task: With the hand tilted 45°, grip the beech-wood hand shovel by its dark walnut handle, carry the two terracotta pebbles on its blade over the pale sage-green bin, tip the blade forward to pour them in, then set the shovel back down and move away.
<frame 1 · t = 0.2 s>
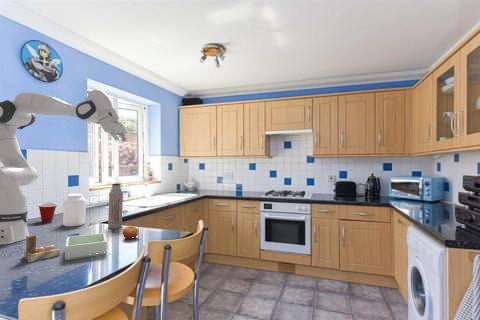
hand: (121, 140, 140), 54 cm above the counter, tool tilted 30°, fingers open, 8 cm apart
white jar: (74, 224, 172), on the counter
pebble b: (49, 252, 119), point 1 cm above the counter, tilted 15°, touching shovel
pebble a: (39, 254, 116), point 1 cm above the counter, tilted 15°, touching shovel
fruit: (130, 238, 145), on the counter
thermos bottle: (115, 227, 168), on the counter
bin: (86, 251, 123), on the counter
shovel: (30, 258, 113), on the counter, touching pebble a, pebble b
plastic cup: (47, 221, 178), on the counter
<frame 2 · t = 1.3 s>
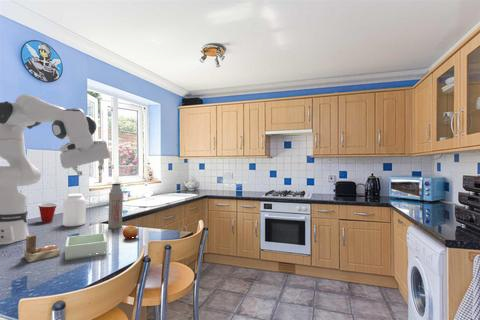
hand: (91, 172, 121), 38 cm above the counter, tool tilted 15°, fingers open, 8 cm apart
pebble b: (50, 251, 119), point 1 cm above the counter, tilted 45°, touching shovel
pebble a: (40, 252, 116), point 2 cm above the counter, tilted 67°, touching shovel
everything else where it was.
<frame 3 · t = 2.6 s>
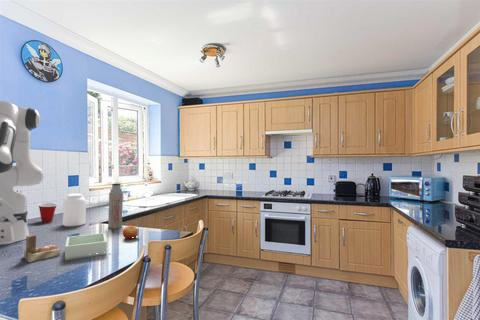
hand: (8, 221, 105), 18 cm above the counter, tool tilted 40°, fingers open, 8 cm apart
nothing on the counter moved.
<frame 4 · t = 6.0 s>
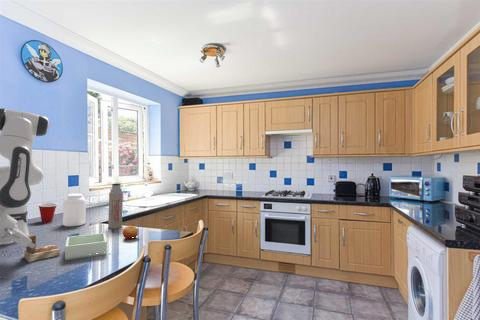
hand: (32, 245, 114), 6 cm above the counter, tool tilted 45°, fingers closed on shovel, 3 cm apart
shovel: (30, 258, 113), on the counter, touching gripper, pebble a, pebble b
everything else where it was.
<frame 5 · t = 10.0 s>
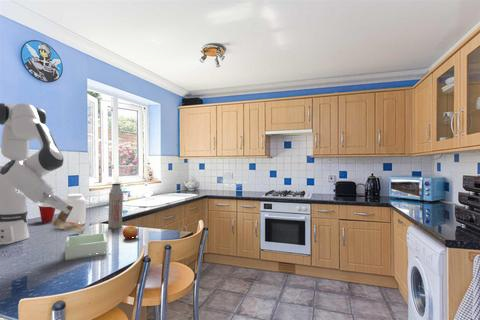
hand: (66, 212, 118), 20 cm above the counter, tool tilted 45°, fingers closed on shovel, 3 cm apart
pebble b: (75, 228, 121), point 12 cm above the counter, tilted 71°, touching pebble a, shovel
pebble a: (67, 225, 119), point 13 cm above the counter, tilted 93°, touching pebble b, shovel
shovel: (57, 226, 116), point 13 cm above the counter, tilted 26°, touching gripper, pebble a, pebble b
everything else where it was.
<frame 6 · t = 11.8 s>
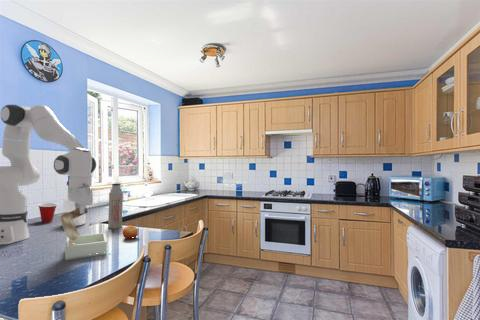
hand: (79, 212, 121), 19 cm above the counter, tool pointing down, fingers closed on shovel, 3 cm apart
pebble b: (97, 242, 126), point 4 cm above the counter, tilted 149°, touching bin
pebble a: (74, 248, 122), point 2 cm above the counter, tilted 73°, touching bin
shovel: (62, 219, 115), point 17 cm above the counter, tilted 71°, touching gripper
everything else where it was.
when the fingers open (7 cm above the counter, at t = 16.8 s): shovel drops 2 cm, on the counter.
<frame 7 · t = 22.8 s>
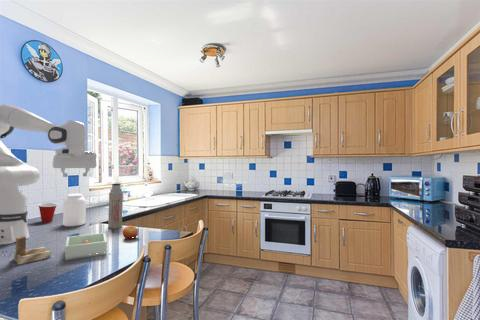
hand: (75, 176, 140), 34 cm above the counter, tool pointing down, fingers open, 8 cm apart
pebble b: (68, 248, 119), point 3 cm above the counter, tilted 113°, touching bin
pebble a: (88, 244, 127), point 2 cm above the counter, tilted 87°, touching bin
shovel: (20, 260, 111), on the counter
everything else where it was.
at the end: pebble a inside the target area on the bin (3.9 cm from its centre), point 2.3 cm above the bin's base; pebble b inside the target area on the bin (7.1 cm from its centre), point 3.0 cm above the bin's base; the gripper is holding nothing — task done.
